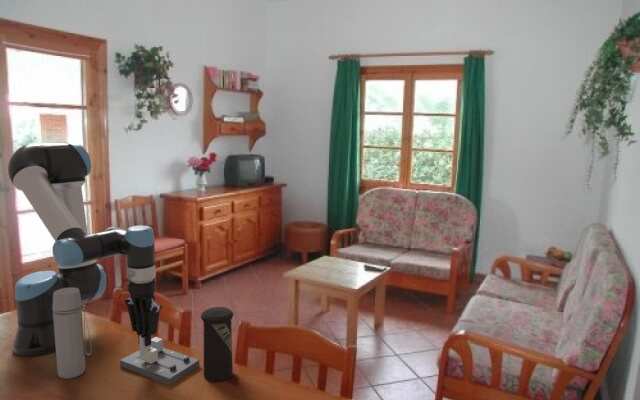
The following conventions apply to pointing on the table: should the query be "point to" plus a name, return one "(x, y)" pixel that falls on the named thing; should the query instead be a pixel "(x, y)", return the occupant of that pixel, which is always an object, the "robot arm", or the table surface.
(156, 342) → the grey fader
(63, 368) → the water bottle
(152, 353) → the cream fader
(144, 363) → the console
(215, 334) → the container
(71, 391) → the table surface
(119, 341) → the table surface
